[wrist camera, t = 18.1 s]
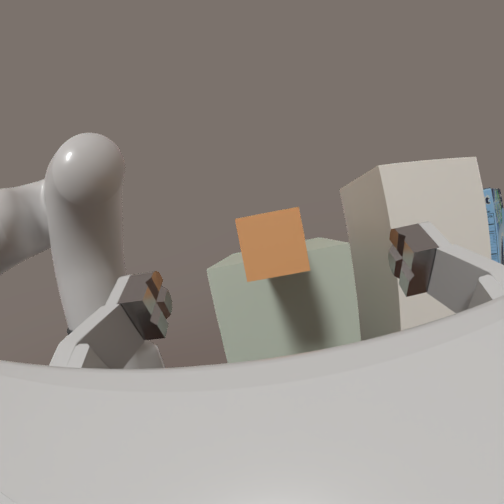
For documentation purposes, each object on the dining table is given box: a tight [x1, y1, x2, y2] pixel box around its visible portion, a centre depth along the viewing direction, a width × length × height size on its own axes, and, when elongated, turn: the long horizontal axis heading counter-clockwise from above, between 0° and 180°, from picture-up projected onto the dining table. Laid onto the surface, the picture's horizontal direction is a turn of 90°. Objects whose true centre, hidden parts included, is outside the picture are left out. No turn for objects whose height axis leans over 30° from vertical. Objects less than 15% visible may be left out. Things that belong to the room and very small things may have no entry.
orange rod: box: [235, 207, 310, 282], centre depth 26 cm, size 26×3×3 cm, turn 175°
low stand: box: [207, 237, 361, 363], centre depth 32 cm, size 16×12×20 cm
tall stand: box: [339, 157, 491, 341], centre depth 30 cm, size 16×12×26 cm
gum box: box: [483, 188, 504, 265], centre depth 33 cm, size 20×5×23 cm, turn 125°
